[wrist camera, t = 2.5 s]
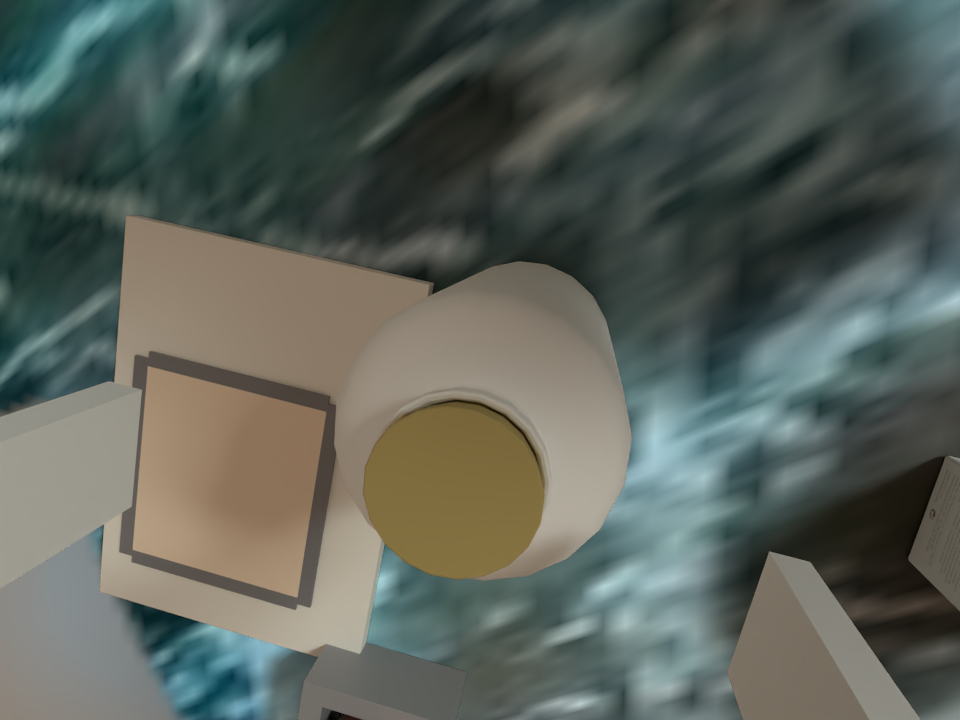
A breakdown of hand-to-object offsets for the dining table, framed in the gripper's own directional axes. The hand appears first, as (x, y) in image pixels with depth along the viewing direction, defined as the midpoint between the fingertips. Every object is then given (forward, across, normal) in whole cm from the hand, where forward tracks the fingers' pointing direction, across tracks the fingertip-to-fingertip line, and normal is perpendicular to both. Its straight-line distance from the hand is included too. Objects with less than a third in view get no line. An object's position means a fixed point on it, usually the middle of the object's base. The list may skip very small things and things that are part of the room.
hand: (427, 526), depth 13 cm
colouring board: (+19, -13, -9) cm, 25 cm away
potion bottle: (+19, 0, 0) cm, 19 cm away
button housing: (+19, -3, -23) cm, 30 cm away
